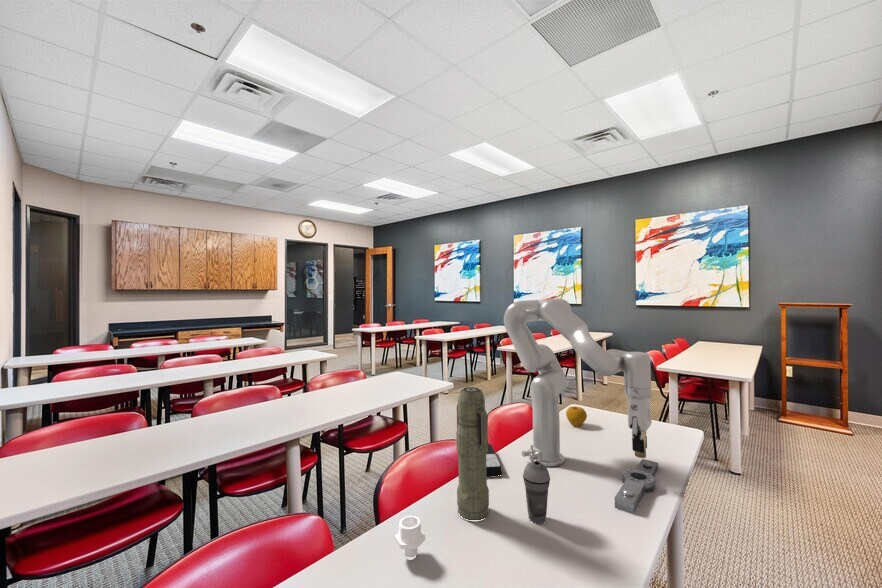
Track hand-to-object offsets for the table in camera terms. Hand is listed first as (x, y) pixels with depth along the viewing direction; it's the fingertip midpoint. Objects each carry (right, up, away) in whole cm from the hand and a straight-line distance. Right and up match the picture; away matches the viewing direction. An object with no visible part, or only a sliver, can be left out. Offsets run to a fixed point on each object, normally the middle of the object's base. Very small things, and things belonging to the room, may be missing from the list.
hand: (639, 448), depth 116 cm
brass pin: (0, -2, 0) cm, 2 cm away
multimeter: (-49, -13, +17) cm, 54 cm away
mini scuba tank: (-37, -13, -16) cm, 42 cm away
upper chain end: (-4, -12, -5) cm, 14 cm away
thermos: (-54, -13, -12) cm, 57 cm away
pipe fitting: (-70, -13, -29) cm, 77 cm away
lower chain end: (+4, -12, +5) cm, 14 cm away
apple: (-1, -12, +52) cm, 54 cm away
